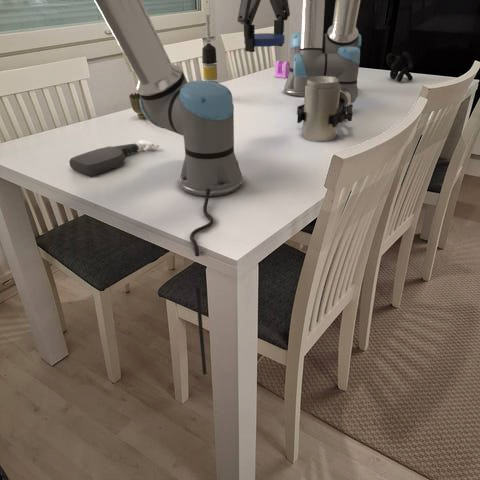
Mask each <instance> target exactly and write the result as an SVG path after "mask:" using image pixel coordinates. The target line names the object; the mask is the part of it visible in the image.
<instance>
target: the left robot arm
mask: <svg viewBox="0 0 480 480" xmlns="http://www.w3.org/2000/svg"><path fill="white" fill-rule="evenodd" d="M93 1H94V2H95V4H96V6H97V8H98V10H99V11H100V13H101V15H102V17H103V19H104V20H105V22H106V24H107V26H108V27H109V29H110V31H111V33H112V35H113V37H114V38H115V40H116V42H117V44H118V46H119V47H120V49H121V51H122V53H123V54H124V56H125V58H126V60H127V62H128V63H129V65H130V67H131V69H132V71H133V73H134V74H135V76H136V78H137V79H138V83H137V86H136V91H137V93H139V95H140V100H139V103H140V108H141V111H142V113H143V114H144V116H145V117H146V118H145V119H146V120H147V121H149V122H150V123H152V124H153V125H155V126H156V127H158V128H159V129H165V130H167V131H170V132H172V133H175V134H178V135H180V136H183V143H184V154H185V155H184V158H183V164H182V168H181V171H180V177H179V178H180V179H179V183H180V184H179V185H180V188H181V189H182V191H184V192H186V193H187V194H190V195H194V196H199V197H204V202H203V207H202V211H203V214H204V216H205V217H206V218H207V219H208V220H209V222H208V223H206V224H204V225H201V226H199V227H197V228H195V229H194V230H192V231H191V232H190V234H189V240H190V242H191V243H192V245H193V248H194V256H195V257H199V256H200V249H199V248H200V247H199V244H198V242H197V240H196V239H195V235H197V233H199V232H202V231H204V230H206V229H208V228H210V227H211V226H212V225H213V224H214V221H215V220H214V217H213V216H212V215H210V213H208V203H209V198H210V197H221V196H224V195H229V194H232V193H234V192H235V191H237V190H239V189H240V188H241V187H242V185H243V174H242V171H241V168H240V163H239V160H238V158H237V157H236V154H235V125H234V124H235V121H234V119H235V116H234V114H235V113H234V112H235V110H234V109H235V106H234V102H233V94H232V91H231V90H230V89H229V87H227V86H226V85H224V84H222V83H220V82H218V83H216V82H217V81H215V82H207V81H208V80H193V81H192V80H191V81H188V80H187V78H186V76H185V73H184V71H183V70H182V68H181V66H179V65H177V64H174V63H172V62H171V60H170V58H169V55H168V54H167V51H166V49H165V47H164V44H163V42H162V41H161V38H160V37H159V34H158V33H157V30H156V28H155V27H154V25H153V22H152V20H151V18H150V16H149V14H148V12H147V9H146V8H145V6H144V4H143V1H142V0H93ZM261 1H262V0H240V3H239V10H238V13H237V19H236V21H237V23H240V24H241V25H243V37H244V38H245V44H244V47H245V48H244V50H245V52H247V53H248V52H249V53H254V52H256V49H255V47H256V46H255V34H256V32H255V30H256V29H255V24H253V22H254V19H255V17H256V14H257V11H258V9H259V6H260V3H261ZM269 3H270V6H271V8H272V11H273V13H274V16H275V19H274V20H273V33H274V34H282V35H284V31H285V21H287V20H288V19H289V17H290V15H291V11H290V6H289V0H269ZM283 46H284V44H282V45H278V46H277V47H283ZM195 293H196V296H195V297H196V311H197V322H198V334H199V344H200V345H199V346H200V355H201V366H202V375H204V376H205V375H207V363H206V352H205V351H206V350H205V339H204V330H203V329H204V328H203V327H204V326H203V315H202V302H201V301H202V300H201V299H202V298H201V288H200V287H198V286H195Z"/></svg>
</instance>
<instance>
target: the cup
mask: <svg viewBox="0 0 480 480" xmlns="http://www.w3.org/2000/svg"><path fill="white" fill-rule="evenodd" d="M128 98H129V101H130V105H131V108H132V110H133V112H134V113H136V115H137V117H138V118H139V119H147V118H146V117H145V116H144V114H143V113H142V111H141V108H140V103H139V100H140V95H139V93H138V92H137V93H136V92H134V93H129V95H128Z"/></svg>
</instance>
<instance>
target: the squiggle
mask: <svg viewBox="0 0 480 480" xmlns="http://www.w3.org/2000/svg"><path fill="white" fill-rule="evenodd" d="M401 57H402V59H401ZM391 59H392V60H391ZM393 60H394V61H393ZM385 61H386V64H387V67H390V68H391V70H390V72H389V78H390V79H391V80H395V79H396V81H397V82H399V83H400V82H402V81H403V79H404V76H406V78H407V80H408V81H412V80H413V79H414V77H413V75H412V74H411V73H410V72H409V71H410V70H412V69H413V68H414V64H413V61H412V57H411V54H410V53H409V52H408V51H403V53H402V54H401V55H396V54H394V53H392V52H390V53H387V55H386V57H385ZM406 62H407V65H408V66H407V67H405V66H404V65H405V64H406ZM400 70H401V71H400Z"/></svg>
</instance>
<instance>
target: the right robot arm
mask: <svg viewBox="0 0 480 480" xmlns="http://www.w3.org/2000/svg"><path fill="white" fill-rule="evenodd" d="M360 5H361V0H335V4H334V12H333V18H332V25H331V26H329V27H328V29H327V32H326V33H324V27H325V26H324V25H325V24H324V23H325V9H326V7H325V6H326V0H301V9H300V10H301V13H300V31H298V32H297V31H296V32H294V33H293V34H292V35H291V37H290V45H289V49H290V51H289V62H290V69H289V75H288V77H287V78H286V81H285V84H284V87H283V88H284V89H283V92H284V94H286V95H288V96H293V97H302V98H303V97H304V98H305V84H306V83H307V81H308V78H310V77H315V76H330V77H335V78H338V79H339V84H340V85H341V87H340V97H339V107H338V114H337V115H336V116H335V117H334V118H333V125H332V127H336V126H339V124H341V123H344V122H346V120H347V122H352V120H353V111H354V110H353V109H354V104H353V103H354V102H355V101H356V100H357V98H358V96H359V88H358V75H359V68H360V64H361V61H360V60H361V59H360V58H361V46H362V35H361V34H360V33H359V30H358V27H357V20H358V15H359V10H360ZM296 107H297V109H296V110H297V111H296V115H297V124H300V123H302V122H303V117H304V103H303V104H301V105H298V106H296ZM336 128H337V127H336Z"/></svg>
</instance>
